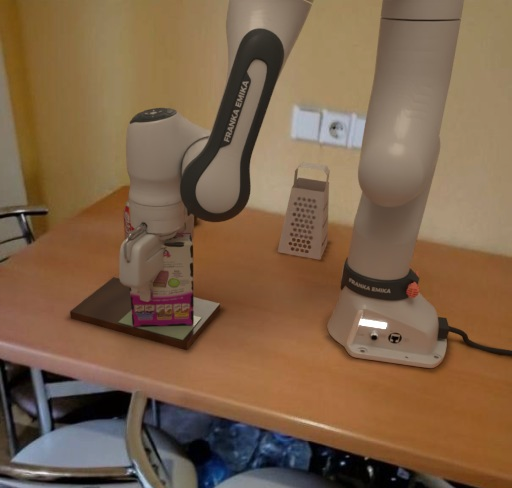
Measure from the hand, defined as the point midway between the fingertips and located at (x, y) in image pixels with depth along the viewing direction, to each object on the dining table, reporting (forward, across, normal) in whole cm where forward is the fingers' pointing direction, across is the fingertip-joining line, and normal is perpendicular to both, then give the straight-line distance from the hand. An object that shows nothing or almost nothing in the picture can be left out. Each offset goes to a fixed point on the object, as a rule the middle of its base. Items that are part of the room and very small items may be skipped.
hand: (159, 287), depth 100 cm
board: (+9, +3, +5) cm, 10 cm away
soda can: (+9, +26, +18) cm, 33 cm away
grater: (+9, +46, -14) cm, 49 cm away
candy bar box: (+7, 0, 0) cm, 7 cm away
